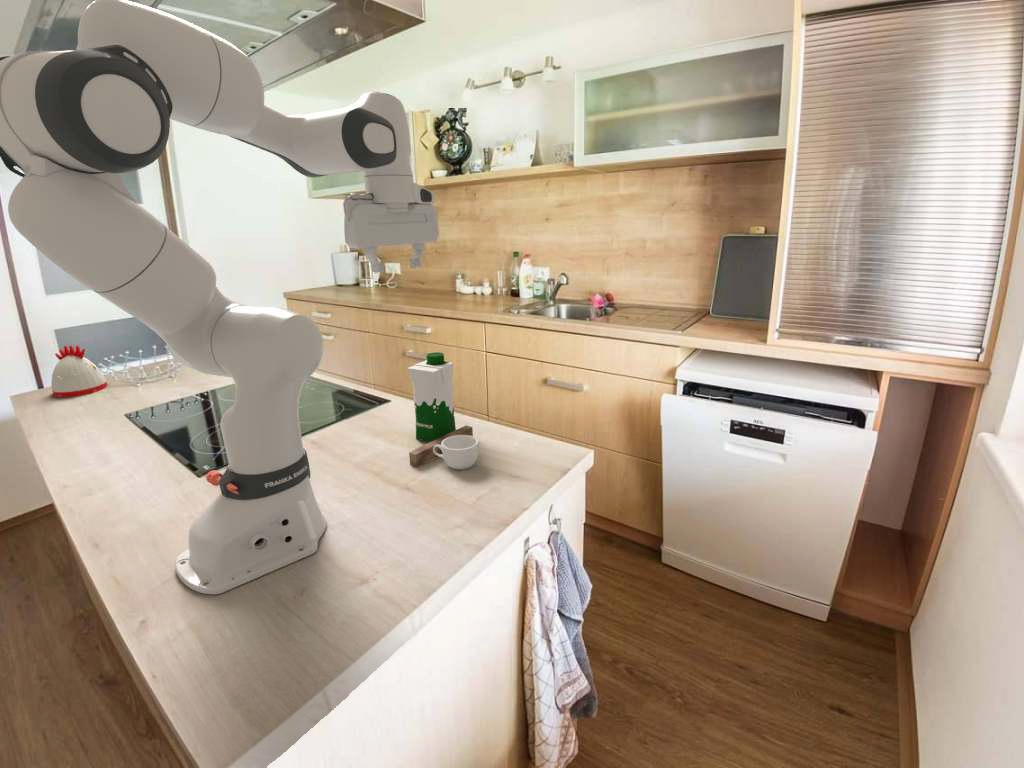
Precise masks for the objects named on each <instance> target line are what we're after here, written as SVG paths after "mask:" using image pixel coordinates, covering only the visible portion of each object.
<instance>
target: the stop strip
mask: <svg viewBox="0 0 1024 768" xmlns="http://www.w3.org/2000/svg"><path fill="white" fill-rule="evenodd" d="M455 435H469V436H473V437H474V431H473V426H469V425H467V424H466V425H464V426H461V427H459V428H457V429H456V430H455V431H453V432H451V433H449V434H447V435H445V436H442V437H440V438H438V439H436V440H434V441H432V442H428V443H425V444H424V445H422V446H420V447H417V448H415V449H413V450H411V451H409V452H408V454H409V455H408V458H409V465H410V466H412V467H415V468H418V467H420V466H423V465H424V464H426V463H429V462H430V461H432V460H434V459H436V458H438V457H439V456H437V455H435V454H434V452H433V447H434V446H435V445H438V444H439V445H441V442H442V441H443V440H444V439H445V438H447V437H450V436H455ZM435 451H436V452H437V453H438V454H441V455H443V453H442V451H441V449H440V448H439V447H435Z"/></svg>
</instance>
